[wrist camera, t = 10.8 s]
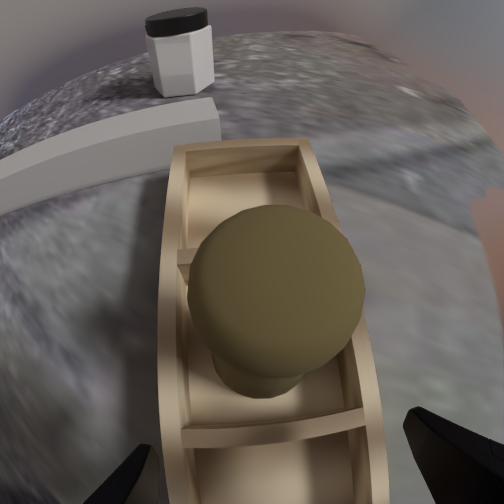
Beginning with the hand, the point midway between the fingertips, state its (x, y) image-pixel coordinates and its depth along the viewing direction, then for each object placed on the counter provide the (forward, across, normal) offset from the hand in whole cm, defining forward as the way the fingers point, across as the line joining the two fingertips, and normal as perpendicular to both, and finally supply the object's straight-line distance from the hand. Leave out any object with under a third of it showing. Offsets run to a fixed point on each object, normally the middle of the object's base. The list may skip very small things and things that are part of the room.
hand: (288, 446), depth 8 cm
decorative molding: (+25, +19, -12) cm, 34 cm away
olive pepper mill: (+9, 0, +2) cm, 9 cm away
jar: (+35, +7, -24) cm, 43 cm away
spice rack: (+9, 0, +2) cm, 10 cm away
